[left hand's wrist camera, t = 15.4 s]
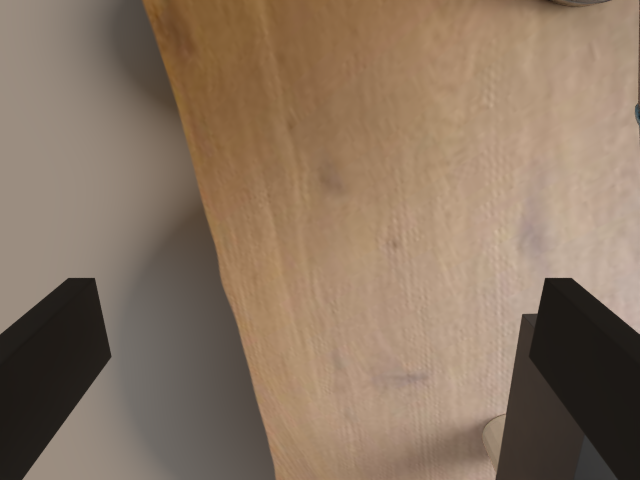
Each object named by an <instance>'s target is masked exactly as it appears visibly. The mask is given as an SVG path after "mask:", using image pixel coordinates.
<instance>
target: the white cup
mask: <svg viewBox="0 0 640 480" xmlns="http://www.w3.org/2000/svg"><path fill="white" fill-rule="evenodd" d="M505 418H506V414H505V415H501V416H499V417H497V418H495V419H493V420H492V421H490V422H489V423H488V424H487V425H486V426H485V428H484V430H483V433H482V441H483V444H484V446H485V449H486V451H487V453H488V456H489V458H490V460H491V463H492V465H493V467H494V469H495V472H496V474H497V468H498V462H499V456H500V449H501V443H502V437H503V431H504V425H505Z"/></svg>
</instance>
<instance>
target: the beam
mask: <svg viewBox="0 0 640 480" xmlns="http://www.w3.org/2000/svg"><path fill="white" fill-rule="evenodd" d="M537 315H538V314H522V320H521V326H520V332H519V338H518V344H517V350H516V357H515V363H514V369H513V375H512V381H511V388H510V394H509V400H508V406H507V412H506V418H505V425H504V431H503V437H502V443H501V449H500V456H499V462H498V468H497V474H496V480H618V479H617V478H616V476H615V475H614V474H613V472H612V471H611V470H610V468H609V467H608V465H607V464H606V463H605V461H604V460H603V459H602V457H601V456H600V454H599V453H598V452H597V450H596V449H595V448H594V446H593V445H592V443H591V442H590V441H589V439H588V438H587V437H586V435H585V434H584V432H583V431H582V430H581V428H580V427H579V426H578V424H577V423H576V421H575V420H574V419H573V417H572V416H571V415H570V413H569V412H568V410H567V409H566V408H565V406H564V405H563V403H562V402H561V401H560V399H559V398H558V397H557V395H556V394H555V392H554V391H553V390H552V388H551V387H550V386H549V384H548V383H547V381H546V380H545V379H544V377H543V376H542V375H541V373H540V372H539V370H538V369H537V368H536V366H535V365H534V364H533V362H532V361H531V359H530V358H529V352H530V347H531V343H532V338H533V333H534V329H535V324H536V319H537Z"/></svg>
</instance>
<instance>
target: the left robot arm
mask: <svg viewBox="0 0 640 480" xmlns="http://www.w3.org/2000/svg"><path fill="white" fill-rule="evenodd" d="M549 1H552V2H554V3H557V4H561V5H566V6H588V5H594V4H598V3H602V2H606V1H610V0H549ZM635 117H636V120H637V123H638V125H639V138H640V0H639V81H638V104H637V105H636V107H635ZM110 358H111V352H110V347H109V343H108V338H107V333H106V329H105V324H104V319H103V315H102V310H101V305H100V300H99V296H98V291H97V286H96V282H95V278H68V279H67V280H66V281H64V282H63V283H62V284H61V285H60V286H58V287H57V288H56V289H55V290H54V291H52V292H51V293H50V294H49V295H47V296H46V297H45V298H44V299H43V300H41V301H40V302H39V303H38V304H37V305H35V306H34V307H33V308H32V309H30V310H29V311H28V312H27V313H26V314H24V315H23V316H22V317H21V318H20V319H18V320H17V321H16V322H15V323H14V324H12V325H11V326H10V327H9V328H8V329H6V330H5V331H4V332H3V333H2V334H0V480H22V479H23V478H24V476H25V475H26V474H27V472H28V471H29V470H30V468H31V467H32V465H33V464H34V463H35V461H36V460H37V458H38V457H39V456H40V454H41V453H42V452H43V450H44V449H45V448H46V446H47V445H48V443H49V442H50V441H51V439H52V438H53V437H54V435H55V434H56V432H57V431H58V430H59V428H60V427H61V425H62V424H63V423H64V421H65V420H66V419H67V417H68V416H69V414H70V413H71V412H72V410H73V409H74V408H75V406H76V405H77V403H78V402H79V401H80V399H81V398H82V396H83V395H84V394H85V392H86V391H87V390H88V388H89V387H90V386H91V384H92V383H93V381H94V380H95V379H96V377H97V376H98V375H99V373H100V372H101V370H102V369H103V368H104V366H105V365H106V364H107V362H108V361H109V359H110ZM529 358H530V359H531V361H532V362H533V364H534V365H535V366H536V368H537V369H538V370H539V372H540V373H541V375H542V376H543V377H544V379H545V380H546V381H547V383H548V384H549V386H550V387H551V388H552V390H553V391H554V392H555V394H556V395H557V397H558V398H559V399H560V401H561V402H562V403H563V405H564V406H565V408H566V409H567V410H568V412H569V413H570V415H571V416H572V417H573V419H574V420H575V421H576V423H577V424H578V426H579V427H580V428H581V430H582V431H583V432H584V434H585V435H586V437H587V438H588V439H589V441H590V442H591V443H592V445H593V446H594V448H595V449H596V450H597V452H598V453H599V454H600V456H601V457H602V459H603V460H604V461H605V463H606V464H607V465H608V467H609V468H610V470H611V471H612V472H613V474H614V475H615V476H616V478H617V479H618V480H640V334H638V333H637V332H636V331H635V330H634V329H632V328H631V327H630V326H629V325H628V324H626V323H625V322H624V321H623V320H622V319H620V318H619V317H618V316H617V315H616V314H614V313H613V312H612V311H611V310H610V309H608V308H607V307H606V306H605V305H603V304H602V303H601V302H600V301H599V300H597V299H596V298H595V297H594V296H593V295H591V294H590V293H589V292H588V291H587V290H585V289H584V288H583V287H582V286H581V285H579V284H578V283H577V282H576V281H574V280H573V279H572V278H545V282H544V286H543V291H542V296H541V300H540V305H539V310H538V315H537V319H536V324H535V329H534V333H533V338H532V343H531V347H530V352H529Z"/></svg>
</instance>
